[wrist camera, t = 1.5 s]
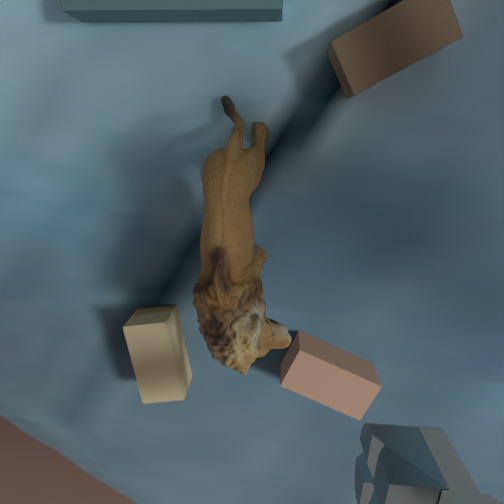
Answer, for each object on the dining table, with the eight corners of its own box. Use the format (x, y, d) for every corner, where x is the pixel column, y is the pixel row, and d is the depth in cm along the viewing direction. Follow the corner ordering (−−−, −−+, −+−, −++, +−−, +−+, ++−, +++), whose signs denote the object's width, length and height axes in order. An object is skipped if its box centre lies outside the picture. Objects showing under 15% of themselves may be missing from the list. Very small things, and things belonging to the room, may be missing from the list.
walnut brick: (422, -3, 24) (441, -22, 21) (441, 48, 24) (462, 37, 21) (325, 51, 25) (331, 41, 22) (346, 99, 25) (354, 95, 23)
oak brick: (137, 308, 31) (122, 327, 28) (177, 303, 30) (165, 322, 27) (155, 379, 32) (142, 403, 29) (192, 375, 32) (184, 399, 29)
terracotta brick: (372, 362, 30) (381, 386, 27) (353, 394, 31) (359, 420, 28) (298, 329, 30) (299, 350, 27) (280, 362, 31) (280, 385, 28)
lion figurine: (291, 309, 29) (294, 383, 21) (218, 316, 30) (191, 391, 21) (265, 90, 25) (255, 70, 17) (181, 103, 26) (130, 90, 17)
